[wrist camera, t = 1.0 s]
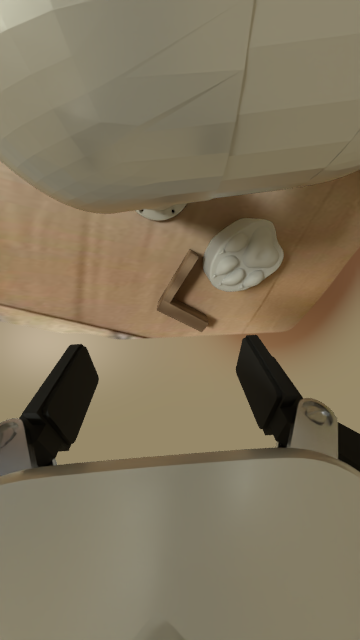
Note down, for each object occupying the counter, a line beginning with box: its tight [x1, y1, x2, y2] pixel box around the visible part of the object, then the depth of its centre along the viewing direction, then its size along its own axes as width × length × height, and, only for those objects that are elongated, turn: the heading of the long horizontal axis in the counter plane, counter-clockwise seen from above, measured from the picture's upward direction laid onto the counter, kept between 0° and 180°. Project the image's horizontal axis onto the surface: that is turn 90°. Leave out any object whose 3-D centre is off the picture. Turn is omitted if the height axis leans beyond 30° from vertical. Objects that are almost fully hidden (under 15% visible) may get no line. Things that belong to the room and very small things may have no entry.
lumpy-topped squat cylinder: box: [203, 218, 284, 292], centre depth 33 cm, size 10×13×9 cm
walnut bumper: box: [157, 250, 209, 332], centre depth 39 cm, size 14×12×4 cm
